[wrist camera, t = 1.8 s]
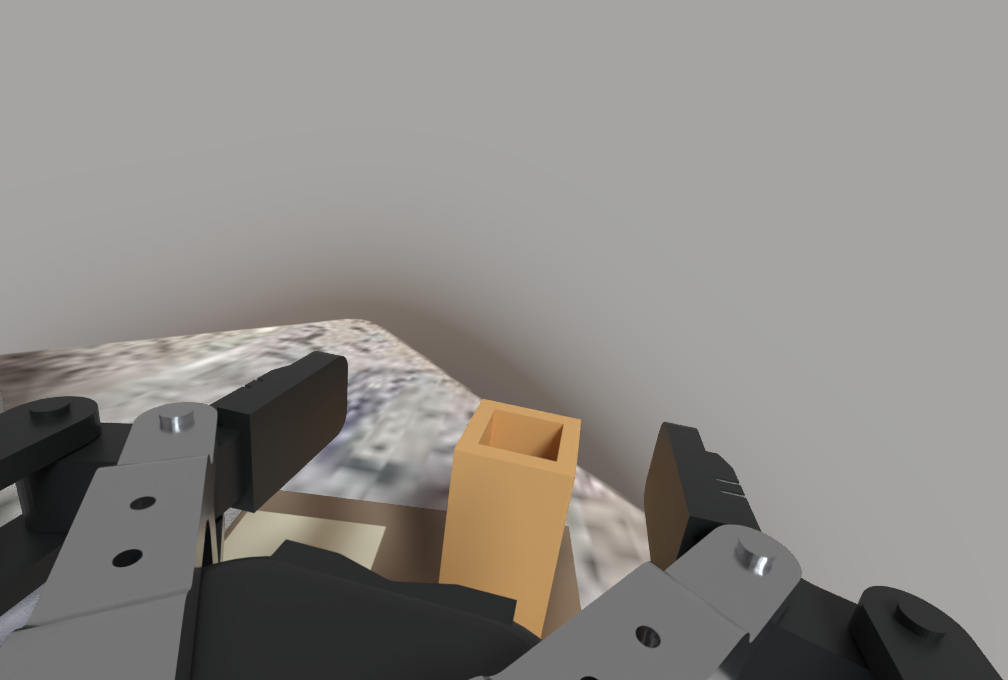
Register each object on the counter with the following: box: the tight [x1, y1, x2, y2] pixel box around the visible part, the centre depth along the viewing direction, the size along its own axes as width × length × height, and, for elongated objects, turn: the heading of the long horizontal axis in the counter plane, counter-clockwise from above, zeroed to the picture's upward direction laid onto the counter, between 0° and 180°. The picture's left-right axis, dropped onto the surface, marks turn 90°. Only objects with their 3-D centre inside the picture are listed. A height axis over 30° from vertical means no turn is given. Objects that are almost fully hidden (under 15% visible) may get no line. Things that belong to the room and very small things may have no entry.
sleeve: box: [439, 399, 581, 638], centre depth 27 cm, size 6×6×11 cm
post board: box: [223, 490, 581, 640], centre depth 27 cm, size 22×14×10 cm, turn 89°
